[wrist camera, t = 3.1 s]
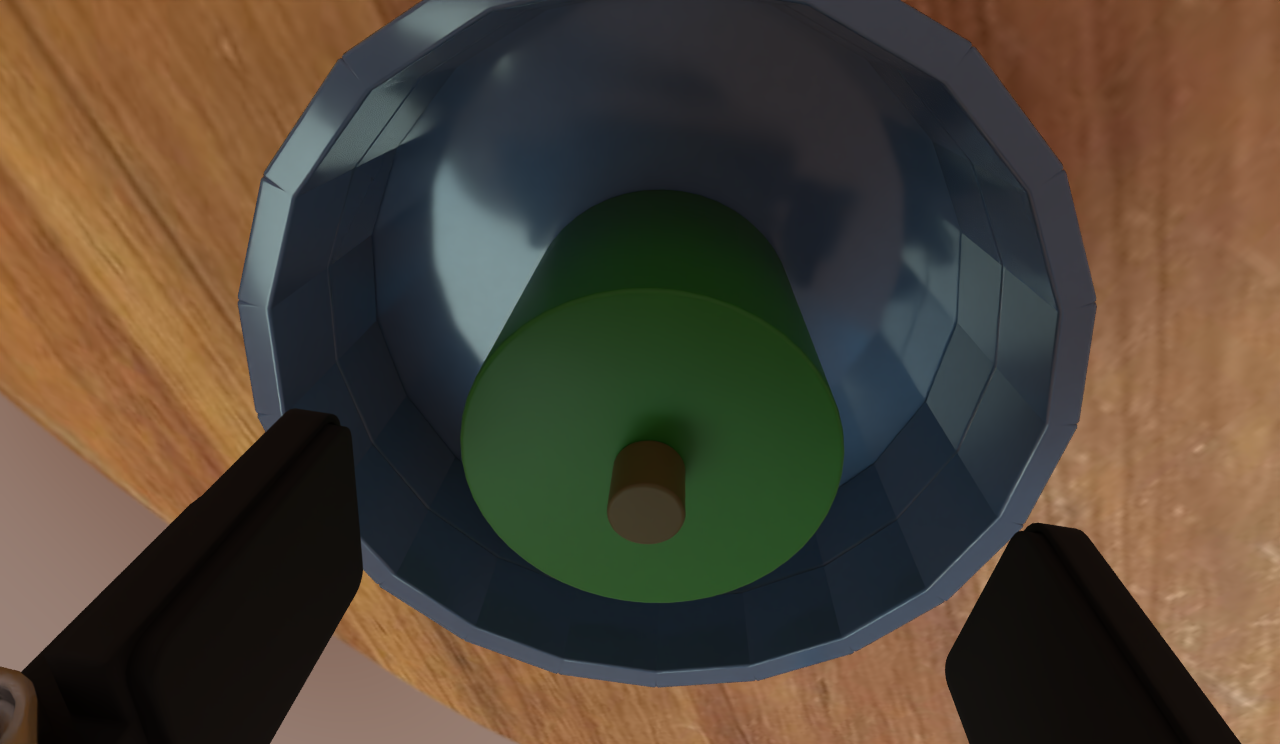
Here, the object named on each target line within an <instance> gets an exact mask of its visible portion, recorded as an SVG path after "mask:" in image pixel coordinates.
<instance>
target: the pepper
mask: <svg viewBox="0 0 1280 744" xmlns="http://www.w3.org/2000/svg"><path fill="white" fill-rule="evenodd" d="M460 444H461V458H462V463H463V467H464V472H465V476H466V480H467V483H468V485H469V488H470V491H471V493H472V496H473V498H474V500H475V502H476V504H477V506H478V507H479V509H480V511H481V513H482V514H483V516H484V518H485V519H486V520H487V522H488V523H489V524H490V526H491V527H492V528H493V530H494V531H495V532H496V534H497V535H498V536H499V537H500V538H501V539H502V540H503V541H504V542H505V543H506V544H507V545H508V546H509V547H510V548H511V549H512V550H513V551H515V552H516V553H517V554H518V555H519V556H521V557H522V558H523V559H524V560H525V561H527V562H528V563H530V564H531V565H533V566H534V567H536V568H537V569H539V570H540V571H542V572H543V573H545V574H547V575H549V576H551V577H553V578H555V579H557V580H559V581H561V582H563V583H565V584H568V585H570V586H573V587H575V588H578V589H580V590H583V591H586V592H589V593H593V594H596V595H600V596H603V597H608V598H613V599H619V600H624V601H633V602H643V603H673V602H684V601H693V600H698V599H703V598H708V597H713V596H716V595H720V594H723V593H726V592H730V591H733V590H735V589H738V588H740V587H743V586H745V585H748V584H750V583H752V582H754V581H756V580H758V579H760V578H762V577H763V576H765V575H767V574H769V573H771V572H772V571H774V570H775V569H777V568H778V567H779V566H781V565H782V564H784V563H785V562H786V561H788V560H789V559H790V558H791V557H792V556H793V555H795V554H796V553H797V552H798V551H799V550H800V549H801V548H802V547H803V546H804V545H805V544H806V543H807V542H808V541H809V539H810V538H811V537H812V536H813V535H814V534H815V532H816V531H817V530H818V528H819V527H820V525H821V523H822V522H823V520H824V519H825V517H826V516H827V514H828V512H829V510H830V508H831V505H832V503H833V501H834V499H835V496H836V494H837V491H838V487H839V483H840V480H841V476H842V471H843V462H844V435H843V428H842V423H841V419H840V414H839V410H838V407H837V405H836V402H835V399H834V397H833V394H832V392H831V389H830V386H829V384H828V381H827V379H826V376H825V373H824V371H823V368H822V366H821V363H820V360H819V358H818V355H817V353H816V350H815V347H814V345H813V342H812V340H811V337H810V334H809V332H808V329H807V327H806V324H805V321H804V319H803V316H802V314H801V311H800V308H799V306H798V303H797V301H796V298H795V295H794V293H793V290H792V288H791V285H790V282H789V280H788V277H787V275H786V272H785V270H784V267H783V265H782V262H781V260H780V259H779V257H778V255H777V254H776V252H775V250H774V248H773V247H772V246H771V244H770V243H769V242H768V240H767V239H766V238H765V237H764V235H763V234H762V233H761V232H760V231H759V230H758V229H757V228H756V227H755V226H754V225H753V224H752V223H750V222H749V221H748V220H747V219H745V218H744V217H743V216H741V215H740V214H738V213H737V212H736V211H734V210H732V209H731V208H729V207H727V206H725V205H723V204H721V203H719V202H717V201H714V200H712V199H709V198H706V197H703V196H701V195H697V194H692V193H688V192H683V191H674V190H643V191H638V192H632V193H627V194H623V195H620V196H617V197H614V198H611V199H608V200H605V201H603V202H601V203H599V204H597V205H595V206H593V207H591V208H589V209H588V210H586V211H585V212H583V213H582V214H580V215H579V216H577V217H576V218H575V219H574V220H573V221H571V222H570V223H569V224H568V225H567V226H566V227H565V228H563V229H562V231H561V232H560V233H559V234H558V235H557V236H556V238H555V239H554V240H553V241H552V242H551V244H550V246H549V247H548V249H547V250H546V252H545V254H544V255H543V257H542V259H541V260H540V262H539V264H538V266H537V268H536V269H535V271H534V273H533V275H532V277H531V278H530V280H529V282H528V284H527V286H526V287H525V289H524V291H523V293H522V295H521V296H520V298H519V300H518V302H517V304H516V305H515V307H514V309H513V311H512V313H511V315H510V316H509V318H508V320H507V322H506V324H505V325H504V327H503V329H502V331H501V333H500V334H499V336H498V338H497V340H496V342H495V343H494V345H493V347H492V349H491V351H490V352H489V354H488V356H487V358H486V360H485V361H484V363H483V365H482V367H481V369H480V370H479V372H478V374H477V376H476V378H475V380H474V382H473V385H472V387H471V389H470V392H469V394H468V396H467V400H466V403H465V407H464V411H463V415H462V422H461V433H460Z"/></svg>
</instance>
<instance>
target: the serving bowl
mask: <svg viewBox="0 0 1280 744" xmlns="http://www.w3.org/2000/svg"><path fill="white" fill-rule="evenodd" d="M263 175H264V176H263V177H262V179H261V182H260V188H259V193H258V198H257V203H256V208H255V213H254V218H253V223H252V228H251V233H250V238H249V243H248V248H247V253H246V258H245V263H244V268H243V273H242V278H241V283H240V288H239V293H238V299H239V301H238V308H239V314H240V320H241V326H242V332H243V338H244V344H245V350H246V356H247V362H248V368H249V374H250V380H251V386H252V392H253V398H254V404H255V410H256V412H257V413H258V419H259V420H260V422H261V424H262V426H263V428H264V430H265V432H266V431H267V430H268V429H269V428H270V427H271V426H272V425H273V424H274V423H275V422H276V421H277V420H278V419H279V418H280V417H281V416H282V415H283V414H284V413H285V412H287V411H288V410H290V409H293V408H297V409H304V410H310V411H317V412H323V413H330V414H334V415H336V416H337V417H338V419H339V420H340V425H341V426H345V427H348V428H349V429H350V431H351V435H352V444H353V456H354V467H355V479H356V490H357V502H358V513H359V525H360V536H361V548H362V560H363V570H364V571H365V572H366V573H367V574H368V575H369V576H370V577H371V578H372V579H373V580H374V581H375V582H376V583H377V584H379V586H380V587H381V588H383V589H384V590H386V591H387V592H389V593H391V594H392V595H394V596H395V597H397V598H398V599H400V600H402V601H403V602H405V603H406V604H408V605H409V606H411V607H413V608H414V609H416V610H417V611H419V612H420V613H422V614H424V615H425V616H427V617H428V618H430V619H431V620H433V621H434V622H436V623H438V624H439V625H441V626H442V627H444V628H445V629H447V630H449V631H450V632H452V633H453V634H455V635H456V636H458V637H460V638H461V639H464V640H465V641H467V642H470V643H472V644H475V645H478V646H481V647H484V648H486V649H489V650H492V651H495V652H497V653H500V654H503V655H506V656H508V657H511V658H514V659H517V660H520V661H522V662H525V663H528V664H531V665H533V666H536V667H539V668H542V669H544V670H547V671H550V672H553V673H556V674H557V673H559V674H561V675H568V676H575V677H583V678H590V679H597V680H604V681H611V682H618V683H626V684H633V685H640V686H647V687H656V686H657V687H673V686H688V685H703V684H718V683H732V682H747V681H755V680H757V681H759V680H762V679H766V678H769V677H773V676H776V675H780V674H783V673H787V672H790V671H793V670H797V669H800V668H804V667H807V666H811V665H814V664H818V663H821V662H825V661H828V660H832V659H835V658H839V657H842V656H846V655H849V654H852V653H854V651H858V650H860V649H862V648H863V647H865V646H867V645H869V644H871V643H872V642H874V641H876V640H878V639H879V638H881V637H883V636H885V635H887V634H888V633H890V632H892V631H894V630H895V629H897V628H899V627H901V626H903V625H904V624H906V623H908V622H910V621H912V620H913V619H915V618H917V617H919V616H920V615H922V614H924V613H926V612H928V611H929V610H931V609H933V608H935V607H936V606H938V605H940V604H942V603H943V602H944V600H945V601H947V600H948V599H949V598H950V597H952V596H953V595H954V594H955V593H956V592H957V591H958V590H959V589H960V588H961V587H962V586H963V585H964V584H965V583H966V582H967V581H968V580H969V579H970V578H971V577H972V576H973V575H974V574H975V573H976V572H977V571H978V570H979V569H980V568H981V567H982V566H983V565H984V564H985V563H986V562H988V561H989V560H990V559H991V558H992V557H993V556H994V555H995V554H996V553H997V552H998V551H999V550H1000V549H1001V548H1002V547H1003V546H1004V545H1005V544H1006V543H1007V542H1008V541H1009V540H1010V539H1011V538H1012V537H1013V535H1014V534H1015V533H1017V532H1018V531H1019V530H1020V529H1021V528H1023V524H1024V523H1025V522H1026V520H1027V519H1028V517H1029V515H1030V513H1031V511H1032V509H1033V508H1034V506H1035V504H1036V502H1037V500H1038V498H1039V497H1040V495H1041V493H1042V491H1043V489H1044V487H1045V486H1046V484H1047V482H1048V480H1049V478H1050V476H1051V475H1052V473H1053V471H1054V469H1055V467H1056V465H1057V464H1058V462H1059V460H1060V458H1061V456H1062V454H1063V453H1064V451H1065V449H1066V447H1067V445H1068V443H1069V441H1070V440H1071V438H1072V436H1073V434H1074V432H1075V430H1076V429H1077V423H1078V422H1079V419H1080V413H1081V406H1082V400H1083V393H1084V387H1085V380H1086V373H1087V367H1088V360H1089V354H1090V347H1091V340H1092V334H1093V327H1094V321H1095V314H1096V308H1097V306H1096V302H1095V301H1096V295H1095V290H1094V286H1093V282H1092V278H1091V274H1090V270H1089V265H1088V261H1087V257H1086V253H1085V249H1084V245H1083V241H1082V236H1081V232H1080V228H1079V224H1078V220H1077V216H1076V211H1075V207H1074V203H1073V199H1072V195H1071V191H1070V187H1069V182H1068V178H1067V174H1066V172H1065V170H1063V165H1062V163H1061V162H1060V160H1059V159H1058V158H1057V156H1056V155H1055V154H1054V152H1053V151H1052V149H1051V148H1050V147H1049V145H1048V144H1047V143H1046V141H1045V140H1044V139H1043V137H1042V136H1041V135H1040V133H1039V132H1038V131H1037V129H1036V128H1035V127H1034V125H1033V124H1032V123H1031V121H1030V120H1029V118H1028V117H1027V116H1026V114H1025V113H1024V112H1023V110H1022V109H1021V108H1020V106H1019V105H1018V104H1017V102H1016V101H1015V100H1014V98H1013V97H1012V96H1011V94H1010V93H1009V92H1008V90H1007V89H1006V88H1005V86H1004V85H1003V83H1002V82H1001V81H1000V79H999V78H998V77H997V75H996V74H995V73H994V71H993V70H992V69H991V67H990V66H989V65H988V63H987V62H986V61H985V59H984V58H983V57H982V55H981V54H980V52H979V51H978V50H977V48H976V47H973V46H972V44H971V42H970V41H968V40H967V39H965V38H963V37H962V36H960V35H958V34H957V33H955V32H953V31H952V30H950V29H948V28H947V27H945V26H943V25H941V24H940V23H938V22H936V21H935V20H933V19H931V18H930V17H928V16H926V15H925V14H923V13H921V12H920V11H918V10H916V9H915V8H913V7H911V6H910V5H908V4H906V3H905V2H903V1H901V0H422V1H420V2H419V3H417V4H416V5H414V6H413V7H411V8H410V9H408V10H407V11H405V12H404V13H402V14H401V15H399V16H398V17H397V18H395V19H394V20H392V21H391V22H389V23H388V24H386V25H385V26H383V27H382V28H380V29H379V30H377V31H376V32H374V33H373V34H372V35H370V36H369V37H367V38H366V39H364V40H363V41H361V42H360V43H358V44H357V45H355V46H354V47H352V48H351V49H350V50H348V51H347V52H345V53H344V54H343V56H342V58H340V59H338V60H337V62H336V63H335V65H334V66H333V68H332V69H331V71H330V72H329V74H328V75H327V77H326V78H325V80H324V81H323V83H322V85H321V86H320V88H319V89H318V91H317V92H316V94H315V95H314V97H313V98H312V100H311V101H310V103H309V104H308V106H307V107H306V109H305V110H304V112H303V113H302V115H301V116H300V118H299V119H298V121H297V122H296V124H295V126H294V127H293V129H292V130H291V132H290V133H289V135H288V136H287V138H286V139H285V141H284V142H283V144H282V145H281V147H280V148H279V150H278V151H277V153H276V154H275V156H274V157H273V159H272V160H271V162H270V163H269V165H268V166H267V168H266V170H265V171H264V174H263ZM643 190H674V191H683V192H688V193H692V194H697V195H701V196H703V197H706V198H709V199H712V200H714V201H717V202H719V203H721V204H723V205H725V206H727V207H729V208H731V209H732V210H734V211H736V212H737V213H738V214H740V215H741V216H743V217H744V218H745V219H747V220H748V221H749V222H750V223H752V224H753V225H754V226H755V227H756V228H757V229H758V230H759V231H760V232H761V233H762V234H763V235H764V237H765V238H766V239H767V240H768V242H769V243H770V244H771V246H772V247H773V248H774V250H775V252H776V254H777V255H778V257H779V259H780V260H781V262H782V265H783V267H784V270H785V272H786V275H787V277H788V280H789V282H790V285H791V288H792V290H793V293H794V295H795V298H796V301H797V303H798V306H799V308H800V311H801V314H802V316H803V319H804V321H805V324H806V327H807V329H808V332H809V334H810V337H811V340H812V342H813V345H814V347H815V350H816V353H817V355H818V358H819V360H820V363H821V366H822V368H823V371H824V373H825V376H826V379H827V381H828V384H829V386H830V389H831V392H832V394H833V397H834V399H835V402H836V405H837V407H838V410H839V414H840V419H841V423H842V428H843V435H844V462H843V471H842V476H841V480H840V483H839V487H838V491H837V494H836V496H835V499H834V501H833V503H832V505H831V508H830V510H829V512H828V514H827V516H826V517H825V519H824V520H823V522H822V523H821V525H820V527H819V528H818V530H817V531H816V532H815V534H814V535H813V536H812V537H811V538H810V539H809V541H808V542H807V543H806V544H805V545H804V546H803V547H802V548H801V549H800V550H799V551H798V552H797V553H796V554H795V555H793V556H792V557H791V558H790V559H789V560H788V561H786V562H785V563H784V564H782V565H781V566H779V567H778V568H777V569H775V570H774V571H772V572H771V573H769V574H767V575H765V576H763V577H762V578H760V579H758V580H756V581H754V582H752V583H750V584H748V585H745V586H743V587H740V588H738V589H735V590H733V591H730V592H726V593H723V594H720V595H716V596H713V597H708V598H703V599H698V600H693V601H684V602H673V603H643V602H633V601H624V600H619V599H613V598H608V597H603V596H600V595H596V594H593V593H589V592H586V591H583V590H580V589H578V588H575V587H573V586H570V585H568V584H565V583H563V582H561V581H559V580H557V579H555V578H553V577H551V576H549V575H547V574H545V573H543V572H542V571H540V570H539V569H537V568H536V567H534V566H533V565H531V564H530V563H528V562H527V561H525V560H524V559H523V558H522V557H521V556H519V555H518V554H517V553H516V552H515V551H513V550H512V549H511V548H510V547H509V546H508V545H507V544H506V543H505V542H504V541H503V540H502V539H501V538H500V537H499V536H498V535H497V534H496V532H495V531H494V530H493V528H492V527H491V526H490V524H489V523H488V522H487V520H486V519H485V518H484V516H483V514H482V513H481V511H480V509H479V507H478V506H477V504H476V502H475V500H474V498H473V496H472V493H471V491H470V488H469V485H468V483H467V480H466V476H465V472H464V467H463V463H462V458H461V444H460V433H461V422H462V415H463V411H464V407H465V403H466V400H467V396H468V394H469V392H470V389H471V387H472V385H473V382H474V380H475V378H476V376H477V374H478V372H479V370H480V369H481V367H482V365H483V363H484V361H485V360H486V358H487V356H488V354H489V352H490V351H491V349H492V347H493V345H494V343H495V342H496V340H497V338H498V336H499V334H500V333H501V331H502V329H503V327H504V325H505V324H506V322H507V320H508V318H509V316H510V315H511V313H512V311H513V309H514V307H515V305H516V304H517V302H518V300H519V298H520V296H521V295H522V293H523V291H524V289H525V287H526V286H527V284H528V282H529V280H530V278H531V277H532V275H533V273H534V271H535V269H536V268H537V266H538V264H539V262H540V260H541V259H542V257H543V255H544V254H545V252H546V250H547V249H548V247H549V246H550V244H551V242H552V241H553V240H554V239H555V238H556V236H557V235H558V234H559V233H560V232H561V231H562V229H563V228H565V227H566V226H567V225H568V224H569V223H570V222H571V221H573V220H574V219H575V218H576V217H577V216H579V215H580V214H582V213H583V212H585V211H586V210H588V209H589V208H591V207H593V206H595V205H597V204H599V203H601V202H603V201H605V200H608V199H611V198H614V197H617V196H620V195H623V194H627V193H632V192H638V191H643Z"/></svg>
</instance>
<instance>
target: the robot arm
mask: <svg viewBox="0 0 1280 744" xmlns="http://www.w3.org/2000/svg"><path fill="white" fill-rule="evenodd" d="M362 573H363V560H362V548H361V536H360V525H359V513H358V502H357V490H356V479H355V467H354V456H353V444H352V435H351V431H350V429H349V428H348V427H345V426H341V425H340V420H339V419H338V417H337V416H336V415H334V414H330V413H323V412H317V411H310V410H304V409H297V408H293V409H290V410H288V411H287V412H285V413H284V414H283V415H282V416H281V417H280V418H279V419H278V420H277V421H276V422H275V423H274V424H273V425H272V426H271V427H270V428H269V429H268V430H267V431H266V432H265V433H264V434H263V435H262V436H261V437H260V438H259V439H258V440H257V441H256V442H255V443H254V444H253V445H252V446H251V447H250V448H249V449H248V450H247V451H246V452H245V453H244V454H243V455H242V456H241V457H240V458H239V459H238V460H237V461H236V462H235V463H234V464H233V465H232V466H231V467H230V468H229V469H228V470H227V471H226V472H225V473H224V474H223V475H222V476H221V477H220V478H219V479H218V480H217V481H216V482H215V483H214V484H213V485H212V486H211V487H210V488H209V489H208V490H207V491H206V492H205V493H204V494H203V495H202V496H201V497H199V498H198V499H197V500H195V501H194V502H193V503H191V504H190V505H189V506H188V507H187V508H186V509H185V510H184V511H183V512H182V513H181V514H180V515H179V516H178V517H177V518H176V519H175V520H174V521H173V522H172V523H171V524H170V525H169V526H168V527H167V528H166V529H165V530H164V531H163V532H162V533H161V534H160V535H159V536H158V537H157V538H156V539H155V540H154V541H153V542H152V543H151V544H150V545H149V546H148V547H147V548H146V549H145V550H144V551H143V552H142V553H141V554H140V555H139V556H138V557H137V558H136V559H135V560H134V561H133V562H132V563H131V564H130V565H129V566H128V567H127V568H126V569H125V570H124V571H123V572H122V573H121V574H120V575H118V576H117V577H116V578H115V579H114V581H112V582H111V583H110V584H109V585H108V586H107V587H106V588H105V589H104V590H103V591H102V592H101V593H100V594H99V595H98V596H97V598H95V599H94V600H93V601H92V602H91V603H90V604H89V605H88V606H87V607H86V608H85V609H84V610H83V611H82V612H81V613H80V614H79V615H78V616H77V617H76V618H75V619H74V620H73V621H72V622H71V623H70V624H69V625H68V626H67V627H66V628H65V629H64V630H63V631H62V632H61V633H60V634H59V635H58V636H57V637H56V638H55V639H54V640H53V641H52V642H51V643H50V644H49V645H48V646H47V647H46V648H45V649H44V650H43V651H42V652H41V653H40V654H39V655H38V656H37V657H36V658H35V659H34V660H33V661H32V662H31V663H30V664H29V665H28V666H27V667H26V668H25V669H24V670H23V671H22V672H20V671H16V670H12V669H8V668H4V667H0V744H270V743H271V741H272V739H273V737H274V736H275V734H276V732H277V730H278V729H279V727H280V725H281V723H282V721H283V720H284V718H285V716H286V715H287V713H288V711H289V710H290V708H291V706H292V704H293V702H294V701H295V699H296V697H297V696H298V694H299V692H300V690H301V689H302V687H303V685H304V683H305V682H306V680H307V678H308V676H309V675H310V673H311V671H312V669H313V668H314V666H315V664H316V662H317V661H318V659H319V657H320V655H321V654H322V652H323V650H324V648H325V647H326V645H327V643H328V641H329V640H330V638H331V636H332V635H333V633H334V631H335V629H336V628H337V626H338V624H339V622H340V621H341V619H342V617H343V615H344V614H345V612H346V610H347V608H348V607H349V605H350V603H351V601H352V600H353V598H354V596H355V595H356V592H357V590H358V588H359V585H360V583H361V579H362ZM945 675H946V681H947V684H948V687H949V690H950V693H951V695H952V698H953V701H954V703H955V706H956V709H957V711H958V714H959V717H960V719H961V722H962V725H963V727H964V730H965V733H966V736H967V738H968V741H969V744H1241V743H1240V741H1239V740H1238V739H1237V737H1236V736H1235V735H1234V733H1233V732H1232V731H1231V729H1230V728H1229V727H1228V725H1227V724H1226V722H1225V721H1224V720H1223V718H1222V717H1221V716H1220V714H1219V713H1218V712H1217V710H1216V709H1215V708H1214V706H1213V705H1212V704H1211V702H1210V701H1209V700H1208V698H1207V697H1206V695H1205V694H1204V693H1203V691H1202V690H1201V689H1200V687H1199V686H1198V685H1197V683H1196V682H1195V681H1194V679H1193V678H1192V677H1191V675H1190V674H1189V672H1188V671H1187V670H1186V668H1185V667H1184V666H1183V664H1182V663H1181V662H1180V660H1179V659H1178V658H1177V656H1176V655H1175V654H1174V652H1173V651H1172V650H1171V648H1170V647H1169V645H1168V644H1167V643H1166V641H1165V640H1164V639H1163V637H1162V636H1161V635H1160V633H1159V632H1158V631H1157V629H1156V628H1155V627H1154V625H1153V624H1152V623H1151V621H1150V620H1149V618H1148V617H1147V616H1146V614H1145V613H1144V612H1143V610H1142V609H1141V608H1140V606H1139V605H1138V604H1137V602H1136V601H1135V600H1134V598H1133V597H1132V596H1131V594H1130V593H1129V591H1128V590H1127V589H1126V587H1125V586H1124V585H1123V583H1122V582H1121V581H1120V579H1119V578H1118V577H1117V575H1116V574H1115V573H1114V571H1113V570H1112V569H1111V567H1110V566H1109V564H1108V563H1107V562H1106V560H1105V559H1104V558H1103V556H1102V555H1101V554H1100V552H1099V551H1098V550H1097V548H1096V547H1095V546H1094V544H1093V543H1092V542H1091V540H1090V539H1089V537H1088V536H1087V535H1086V534H1085V533H1084V532H1083V531H1081V530H1078V529H1075V528H1068V527H1062V526H1056V525H1049V524H1043V523H1032V524H1031V525H1029V526H1028V527H1027V528H1026V529H1025V530H1024V531H1018V532H1017V533H1015V534H1014V535H1013V537H1012V538H1011V540H1010V541H1009V543H1008V545H1007V547H1006V549H1005V551H1004V553H1003V554H1002V556H1001V558H1000V560H999V562H998V564H997V565H996V567H995V569H994V571H993V573H992V575H991V577H990V578H989V580H988V582H987V584H986V586H985V588H984V590H983V591H982V593H981V595H980V597H979V599H978V601H977V602H976V604H975V606H974V608H973V610H972V612H971V614H970V615H969V617H968V619H967V621H966V623H965V625H964V627H963V628H962V630H961V632H960V634H959V636H958V638H957V640H956V641H955V643H954V645H953V647H952V649H951V651H950V652H949V654H948V657H947V659H946V665H945Z"/></svg>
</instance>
